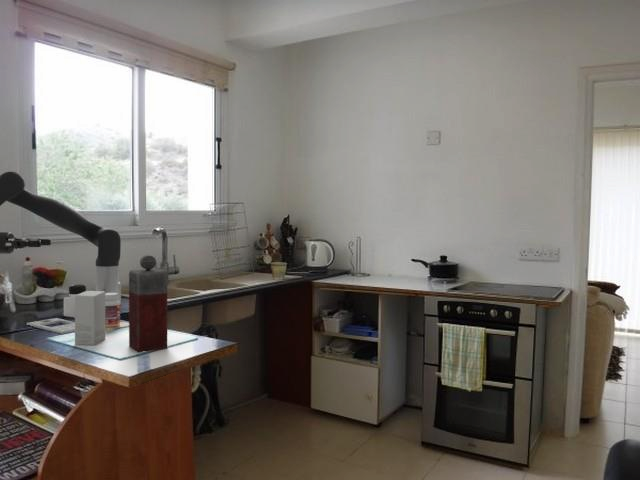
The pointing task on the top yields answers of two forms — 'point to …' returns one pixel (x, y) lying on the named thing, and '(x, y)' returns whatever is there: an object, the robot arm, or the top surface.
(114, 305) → the pill bottle
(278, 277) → the ceramic cup
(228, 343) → the top surface
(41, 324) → the white rectangular panel
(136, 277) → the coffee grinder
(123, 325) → the coaster
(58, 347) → the top surface
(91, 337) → the skincare box
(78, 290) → the medicine bottle
